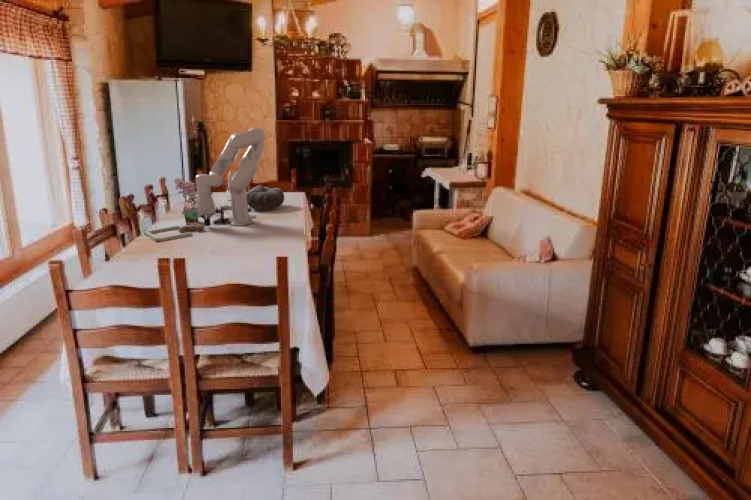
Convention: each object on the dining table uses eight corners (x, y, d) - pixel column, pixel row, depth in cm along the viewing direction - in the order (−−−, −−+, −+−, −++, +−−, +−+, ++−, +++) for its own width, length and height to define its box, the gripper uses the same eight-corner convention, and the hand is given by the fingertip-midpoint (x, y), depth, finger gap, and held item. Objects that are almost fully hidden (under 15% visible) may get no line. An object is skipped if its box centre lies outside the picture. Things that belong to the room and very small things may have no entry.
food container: (194, 225, 334) (192, 209, 331) (184, 225, 335) (182, 209, 332) (204, 220, 345) (202, 205, 342) (195, 220, 346) (193, 204, 343)
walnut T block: (196, 226, 330) (195, 222, 329) (204, 231, 320) (203, 226, 320) (176, 230, 323) (175, 225, 322) (184, 234, 313) (183, 229, 313)
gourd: (254, 200, 388) (254, 177, 381) (288, 206, 386) (289, 183, 379) (240, 212, 365) (241, 187, 358) (276, 218, 363) (278, 193, 356)
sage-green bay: (178, 227, 329) (178, 225, 328) (192, 235, 311) (192, 232, 311) (143, 234, 317) (143, 231, 317) (156, 242, 300) (156, 239, 299)
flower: (202, 213, 359) (207, 177, 363) (168, 210, 359) (173, 174, 362) (210, 219, 378) (215, 185, 382) (178, 216, 378) (183, 182, 382)
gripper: (214, 192, 330) (217, 222, 335) (189, 196, 321) (193, 226, 326) (218, 194, 324) (222, 224, 329) (194, 198, 315) (197, 228, 321)
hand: (207, 225), depth 328 cm, fingers closed
